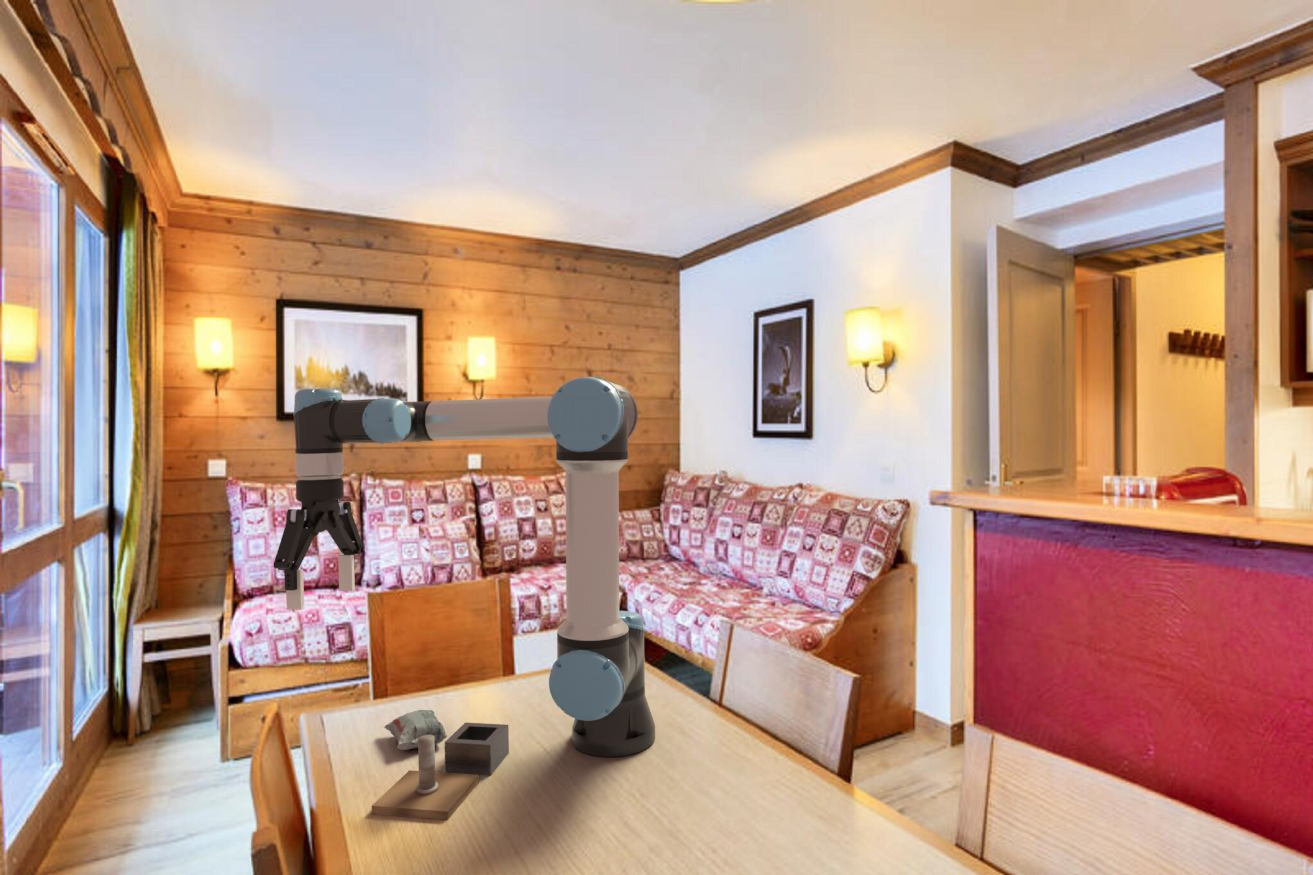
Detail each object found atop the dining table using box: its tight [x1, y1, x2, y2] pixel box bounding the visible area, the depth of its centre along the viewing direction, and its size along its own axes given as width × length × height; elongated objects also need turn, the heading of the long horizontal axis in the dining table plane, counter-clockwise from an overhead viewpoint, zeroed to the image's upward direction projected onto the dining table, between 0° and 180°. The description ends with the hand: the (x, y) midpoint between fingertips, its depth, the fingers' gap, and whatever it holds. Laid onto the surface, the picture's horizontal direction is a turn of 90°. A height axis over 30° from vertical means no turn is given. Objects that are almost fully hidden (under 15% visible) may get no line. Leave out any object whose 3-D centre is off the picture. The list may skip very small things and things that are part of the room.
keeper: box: [371, 735, 480, 820], centre depth 109 cm, size 12×11×9 cm
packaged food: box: [383, 709, 448, 751], centre depth 129 cm, size 9×12×5 cm
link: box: [444, 722, 510, 776], centre depth 120 cm, size 8×8×5 cm
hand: (322, 599), depth 123 cm, fingers open, 13 cm apart
